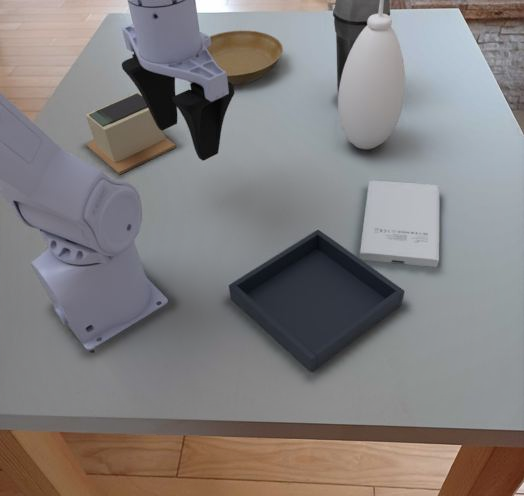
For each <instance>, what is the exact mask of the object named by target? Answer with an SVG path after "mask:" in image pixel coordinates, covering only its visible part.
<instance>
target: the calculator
mask: <svg viewBox="0 0 524 496" xmlns="http://www.w3.org/2000/svg"><path fill="white" fill-rule="evenodd" d="M85 116H86V120H87V123H88V126H89V129H90V132H91V135H92V137H93V141H94V140H95V143H96V146H97V148H98V149H99V150H100V151H101V152H102V153H104V154H105V155H106V156H107V157H108V158H110V159H111V160H112V161H113V162H114V163H117V162H119V161H121V160H123V159H125V158H127V157H129V156H132V155H134V154H136V153H138V152H140V151H142V150H144V149H146V148H148V147H150V146H152V145H155V144H157V143H159V142H161V141H163V140H165V137H166V136H165V132H164V130H163V131H161V130H160V129H159V128H158V126H157V125H156V123H155V121H154V119H153V117H152V115H151V113H150V111H149V108H148V106H147V104H146V102H145V100H144V98H143V97H142V95H141V93H140V91H139V92H138V91H137V92H135V93H132V94H131V95H127V96H125V97H123V98H121V99H119V100H116V101H114V102H111V103H109V104H107V105H105V106H102V107H100V108H98V109H95V110H93V111H91V112H89V113H86V114H85Z"/></svg>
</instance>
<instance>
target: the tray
mask: <svg viewBox="0 0 524 496" xmlns="http://www.w3.org/2000/svg"><path fill="white" fill-rule="evenodd" d="M228 291H229V296H230V300H231V301H232V302H233V303H234V304H235V305H236V306H238V308H240V309H241V310H242V311H243V312H244V313H245V314H247V316H249V317H250V318H251V319H252V320H253V321H254V322H255V323H256V324H257V325H259V327H260V328H261V329H262V330H264V331H265V332H266V333H267V334H269V336H270V337H271V338H273V339H274V340H275V341H276V342H277V343H278V344H279V345H280V346H282V348H284V350H285V351H287V352H288V353H289V354H290V355H291V356H292V357H293V358H294V359H295V360H297V361H298V363H300V364H301V365H302V366H303V367H305V369H307V370H308V371H309V372H310V373H313V372H315V370H317V369H318V368H319V367H321V366H323V364H325V363H327V362H328V360H330V359H332V358H333V357H334V356H336V355H337V354H338V353H339V352H341V351H342V350H344V349H345V348H347V347H348V346H349V345H350V344H352V343H353V342H354V341H356V340H357V339H358V338H360V337H361V336H362V335H364V334H365V333H367V332H368V331H369V330H370V329H372V328H373V327H374V326H376V325H377V324H379V323H380V322H381V321H382V320H384V319H385V318H386V317H388V316H389V315H390V314H391V313H393V312H394V311H395V310H397V309H398V308H400V307H401V306H402V305H403V301H404V297H405V292H406V290H404V289H403V288H402V287H400V286H398V285H397V284H396V283H394V282H393V281H391V279H389V278H387V277H386V276H385V275H383V274H381V273H380V272H379V271H378V270H376V269H375V268H373V267H372V266H370V265H369V264H368V263H366V262H365V261H364V260H361V259H359V256H357V255H355V254H354V253H352V252H351V251H350V250H348V249H347V248H345V247H344V246H342V245H341V244H340V243H338V242H337V241H335V239H332V237H330V236H328V235H327V234H326V233H324V232H323V231H321V230H320V229H316V230H314V231H313V232H311V233H310V234H308V235H307V236H305V237H303V238H302V239H300V240H299V241H297V242H296V243H294V244H292V245H291V246H289V247H287V248H285V249H284V250H282V251H281V252H279V253H278V254H276V255H274V256H273V257H271V258H270V259H268V260H266V261H265V262H263V263H261V264H260V265H259V266H256V267H255V268H253V269H252V270H250V271H249V272H247V273H246V274H244V275H242V276H240V277H239V278H238V279H236V280H234V281H233V282H231V283H230V284H229V285H228Z"/></svg>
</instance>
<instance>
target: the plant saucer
mask: <svg viewBox="0 0 524 496" xmlns="http://www.w3.org/2000/svg"><path fill="white" fill-rule="evenodd" d="M209 37H210V39H211V46H209V47H207V50H208V51H209V53H210V54H211V56H212V57H213V59H214V61H215V62H216V64H217V65H218V66H219V67H220V68H221V69H222V70H224V71H225V72H227V81H228V82H230V83H232V84H233V85H241V84H247V83H251V82H254V81H257V80H259V79H261V78H262V77H264V76H265V75H267V74H268V73H269V72H270V71H271V70H272V69H273V68H274V67H275V65H276V64H277V63H278V62H279V60H280V59H281V57H282V55H283V52H284V47H283V44H282V43H281V41H280V40H279V39H278V38H276V37H275V36H273V35H271V34H268V33H264V32H261V31H256V30H231V31H225V32H219V33H216V34H212V35H210V36H209Z"/></svg>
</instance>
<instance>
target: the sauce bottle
mask: <svg viewBox="0 0 524 496" xmlns="http://www.w3.org/2000/svg"><path fill="white" fill-rule="evenodd" d="M383 5H384V0H380V4H379V11H378V14H374V15H371V16H370V17H369V18H368V20H367V26H366V27H365V28H364V29H363V30H362V32H361V33H360V34H359V36H358V38H357V39H356V41H355V43H354V44H353V46H352V49H351V51H350V53H349V55H348V58H347V60H346V63H345V66H344V69H343V73H342V77H341V81H340V86H339V93H338V92H337V111H338V118H339V123H340V126H341V129H342V132H343V134H344V137H346V139H347V141H348V142H349V143H351V144H352V145H353V146H354V147H356V148H358V149H361V150H371V149H374V148H376V147H378V146H379V145H382V144H383V143H385V142H386V141H387V140H388V138H389V137H390V136H391V135H392V133H393V131H394V130H395V129H396V126H397V124H398V122H399V120H400V118H401V114H402V111H403V108H404V107H403V106H404V102H405V101H404V100H405V91H406V71H405V62H404V57H403V52H402V49H401V45H400V41H399V39H398V36H397V34H396V32H395V30H394V29H393V27H392V25H393V24H392V23H393V19H392V17H391V15H390V16H389V15H387V14H383Z"/></svg>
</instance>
